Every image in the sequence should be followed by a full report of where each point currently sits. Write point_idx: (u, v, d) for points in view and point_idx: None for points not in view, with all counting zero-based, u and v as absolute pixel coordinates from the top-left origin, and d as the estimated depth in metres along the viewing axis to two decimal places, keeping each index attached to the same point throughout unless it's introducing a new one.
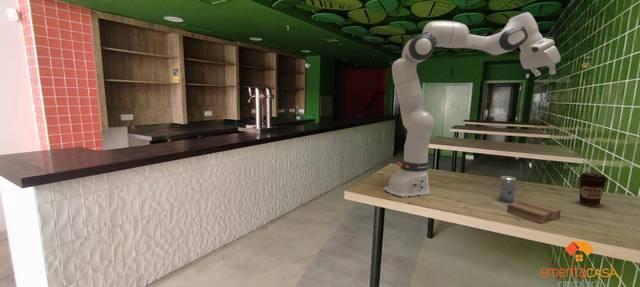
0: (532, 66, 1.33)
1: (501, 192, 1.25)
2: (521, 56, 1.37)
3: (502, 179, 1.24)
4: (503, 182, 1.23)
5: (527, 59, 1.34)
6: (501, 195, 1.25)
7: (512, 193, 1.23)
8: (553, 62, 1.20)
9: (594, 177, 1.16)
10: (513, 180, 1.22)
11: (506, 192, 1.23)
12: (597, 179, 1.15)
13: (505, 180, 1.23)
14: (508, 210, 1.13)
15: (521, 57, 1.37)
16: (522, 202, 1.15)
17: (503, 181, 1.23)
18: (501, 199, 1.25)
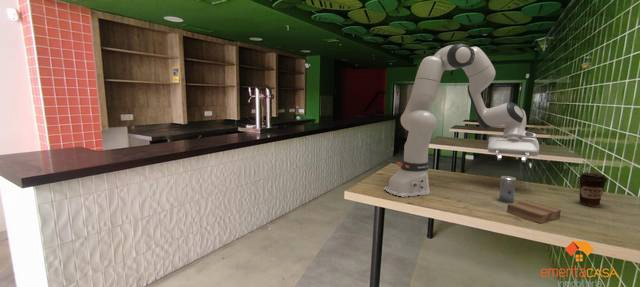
0: (505, 148, 1.36)
1: (501, 192, 1.25)
2: (495, 137, 1.42)
3: (502, 179, 1.24)
4: (503, 182, 1.23)
5: (501, 141, 1.39)
6: (501, 195, 1.25)
7: (512, 193, 1.23)
8: (538, 150, 1.29)
9: (594, 177, 1.16)
10: (513, 180, 1.22)
11: (506, 192, 1.23)
12: (597, 179, 1.15)
13: (505, 180, 1.23)
14: (508, 210, 1.13)
15: (495, 138, 1.41)
16: (522, 202, 1.15)
17: (503, 181, 1.23)
18: (501, 199, 1.25)
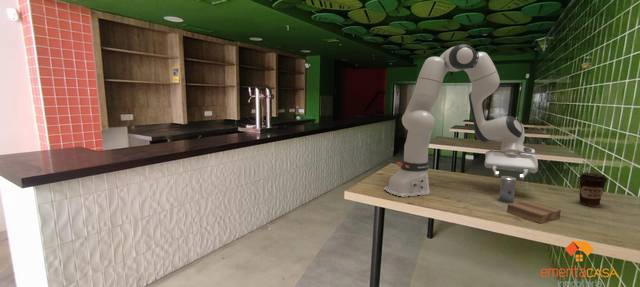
0: (502, 163, 1.31)
1: (501, 192, 1.25)
2: (492, 152, 1.36)
3: (502, 179, 1.24)
4: (503, 182, 1.23)
5: (499, 157, 1.34)
6: (501, 195, 1.25)
7: (512, 193, 1.23)
8: (537, 167, 1.24)
9: (594, 177, 1.16)
10: (513, 180, 1.22)
11: (506, 192, 1.23)
12: (597, 179, 1.15)
13: (505, 180, 1.23)
14: (508, 210, 1.13)
15: (492, 153, 1.36)
16: (522, 202, 1.15)
17: (503, 181, 1.23)
18: (501, 199, 1.25)
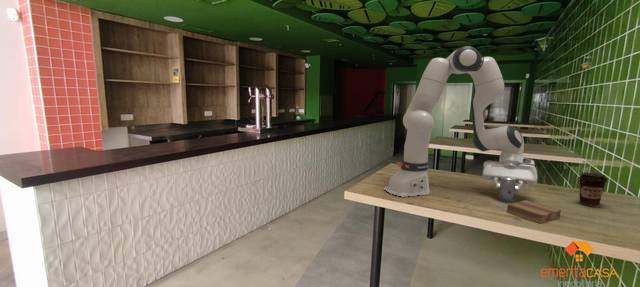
0: (501, 175, 1.27)
1: (501, 192, 1.25)
2: (491, 163, 1.33)
3: (502, 179, 1.24)
4: (503, 182, 1.23)
5: (497, 168, 1.30)
6: (501, 195, 1.25)
7: (512, 193, 1.23)
8: (536, 179, 1.20)
9: (594, 177, 1.16)
10: (513, 180, 1.22)
11: (506, 192, 1.23)
12: (597, 179, 1.15)
13: (505, 180, 1.23)
14: (508, 210, 1.13)
15: (490, 163, 1.33)
16: (522, 202, 1.15)
17: (503, 181, 1.23)
18: (501, 199, 1.25)
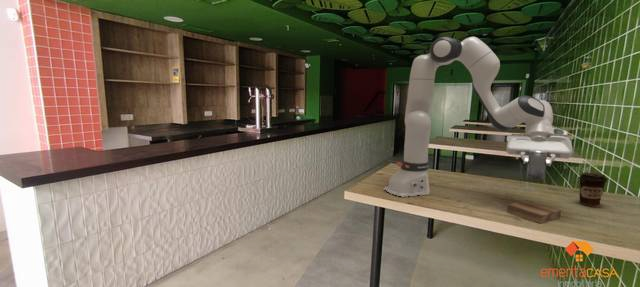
0: (528, 148, 1.11)
1: (530, 167, 1.09)
2: (516, 136, 1.16)
3: (531, 152, 1.08)
4: (533, 156, 1.07)
5: (524, 141, 1.14)
6: (530, 171, 1.09)
7: (543, 168, 1.06)
8: (572, 152, 1.04)
9: (594, 177, 1.16)
10: (544, 153, 1.06)
11: (536, 167, 1.07)
12: (597, 179, 1.15)
13: (535, 153, 1.07)
14: (508, 210, 1.13)
15: (515, 137, 1.16)
16: (522, 202, 1.15)
17: (533, 155, 1.07)
18: (530, 176, 1.09)
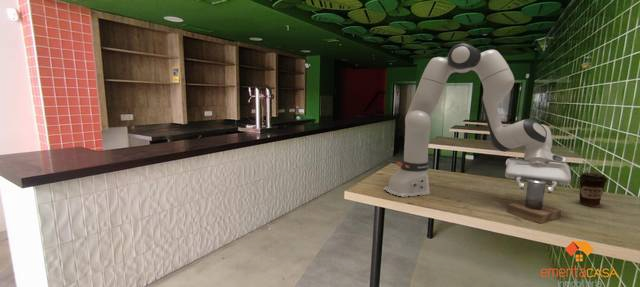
0: (527, 174, 1.12)
1: (528, 197, 1.09)
2: (515, 160, 1.17)
3: (529, 182, 1.09)
4: (531, 186, 1.08)
5: (522, 166, 1.15)
6: (528, 200, 1.09)
7: (541, 198, 1.07)
8: (570, 179, 1.05)
9: (594, 177, 1.16)
10: (543, 184, 1.06)
11: (534, 198, 1.08)
12: (597, 179, 1.15)
13: (533, 183, 1.07)
14: (508, 210, 1.13)
15: (514, 161, 1.17)
16: (522, 202, 1.15)
17: (531, 185, 1.08)
18: (528, 205, 1.10)
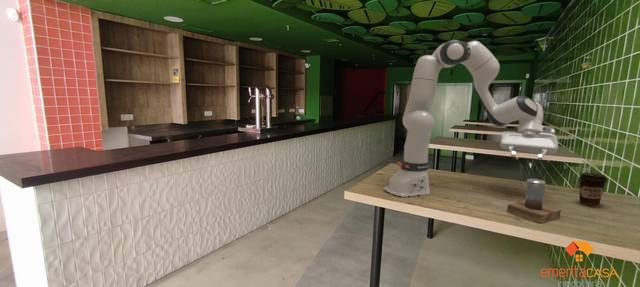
0: (519, 143, 1.25)
1: (528, 197, 1.09)
2: (509, 132, 1.30)
3: (529, 182, 1.09)
4: (531, 186, 1.08)
5: (516, 137, 1.28)
6: (528, 201, 1.09)
7: (541, 198, 1.07)
8: (557, 147, 1.18)
9: (594, 177, 1.16)
10: (542, 184, 1.06)
11: (534, 198, 1.08)
12: (597, 179, 1.15)
13: (533, 183, 1.07)
14: (508, 210, 1.13)
15: (508, 133, 1.30)
16: (522, 202, 1.15)
17: (531, 185, 1.08)
18: (528, 205, 1.10)
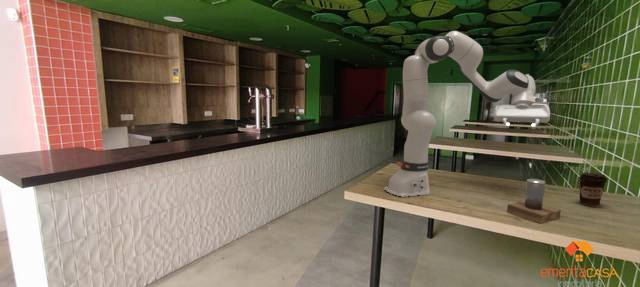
0: (513, 115, 1.29)
1: (527, 197, 1.09)
2: (503, 105, 1.34)
3: (529, 182, 1.09)
4: (531, 186, 1.08)
5: (509, 109, 1.31)
6: (527, 201, 1.10)
7: (541, 198, 1.07)
8: (549, 116, 1.22)
9: (594, 177, 1.16)
10: (542, 183, 1.06)
11: (534, 198, 1.08)
12: (597, 179, 1.15)
13: (533, 183, 1.07)
14: (508, 210, 1.13)
15: (502, 106, 1.34)
16: (522, 202, 1.15)
17: (531, 185, 1.08)
18: (527, 205, 1.10)
